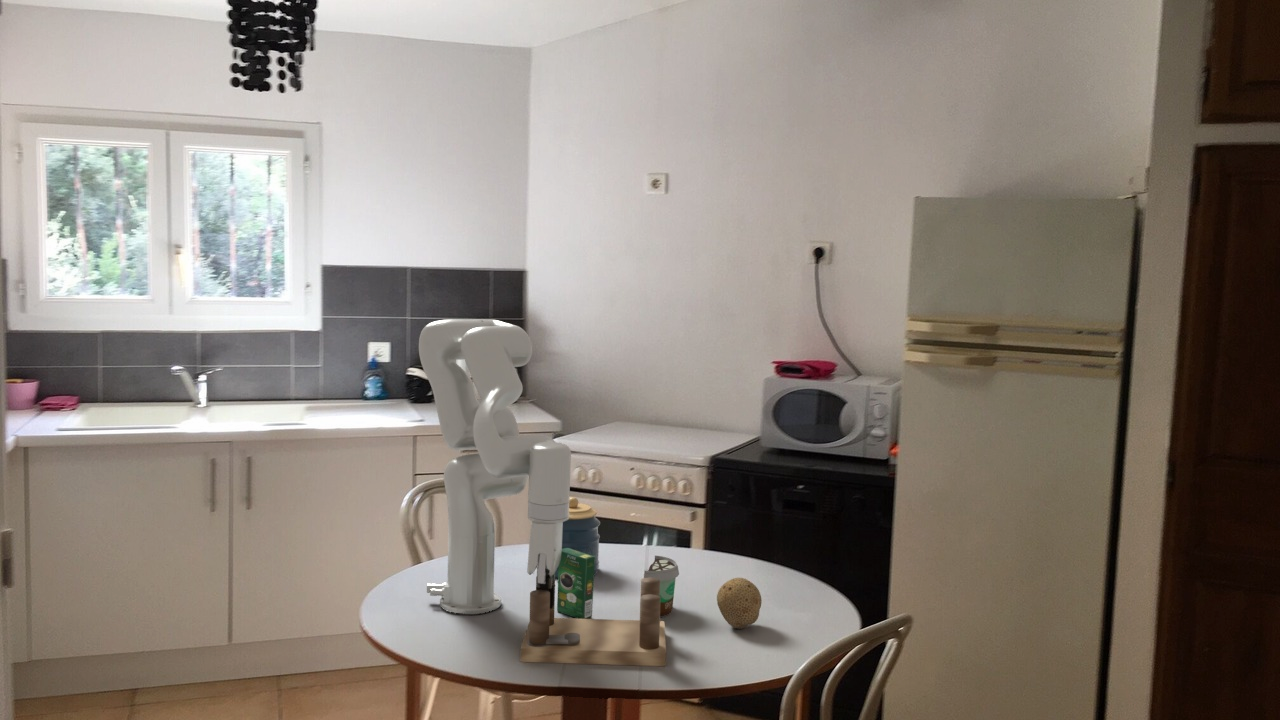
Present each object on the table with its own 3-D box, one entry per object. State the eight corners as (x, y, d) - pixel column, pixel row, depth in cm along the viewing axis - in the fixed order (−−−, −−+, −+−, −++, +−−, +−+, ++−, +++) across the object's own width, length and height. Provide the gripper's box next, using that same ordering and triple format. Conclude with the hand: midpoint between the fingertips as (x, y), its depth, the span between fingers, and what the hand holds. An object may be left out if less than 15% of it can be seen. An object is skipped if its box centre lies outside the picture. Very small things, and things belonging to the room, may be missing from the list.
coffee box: (594, 618, 202) (595, 554, 201) (584, 621, 200) (585, 557, 199) (566, 608, 207) (567, 546, 206) (556, 611, 205) (557, 549, 204)
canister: (575, 560, 242) (577, 488, 240) (610, 573, 232) (612, 498, 231) (531, 570, 233) (533, 495, 231) (566, 584, 223) (568, 506, 222)
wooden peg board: (520, 661, 179) (521, 599, 178) (530, 629, 195) (531, 572, 194) (665, 666, 179) (667, 603, 178) (664, 633, 195) (665, 576, 194)
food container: (672, 622, 201) (674, 574, 200) (642, 619, 202) (643, 571, 201) (682, 602, 213) (683, 557, 212) (653, 600, 214) (655, 554, 213)
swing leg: (580, 638, 183) (581, 590, 183) (579, 645, 180) (580, 597, 179) (529, 637, 183) (530, 589, 182) (528, 644, 179) (529, 596, 179)
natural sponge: (724, 616, 205) (726, 568, 205) (766, 623, 202) (768, 575, 201) (710, 630, 197) (712, 581, 196) (753, 638, 194) (755, 587, 193)
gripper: (535, 498, 191) (532, 591, 193) (519, 519, 176) (516, 620, 178) (574, 501, 190) (571, 594, 192) (562, 522, 175) (558, 623, 177)
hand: (544, 606), depth 185 cm, fingers closed
